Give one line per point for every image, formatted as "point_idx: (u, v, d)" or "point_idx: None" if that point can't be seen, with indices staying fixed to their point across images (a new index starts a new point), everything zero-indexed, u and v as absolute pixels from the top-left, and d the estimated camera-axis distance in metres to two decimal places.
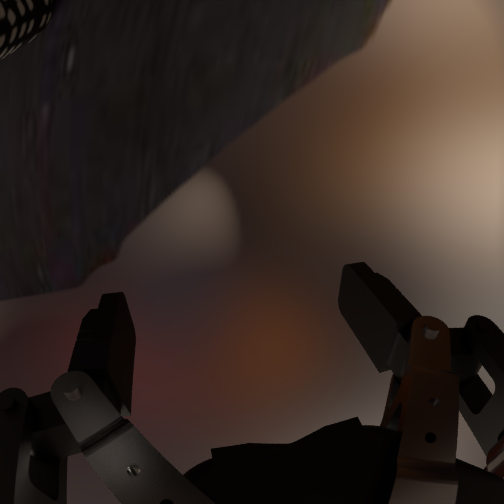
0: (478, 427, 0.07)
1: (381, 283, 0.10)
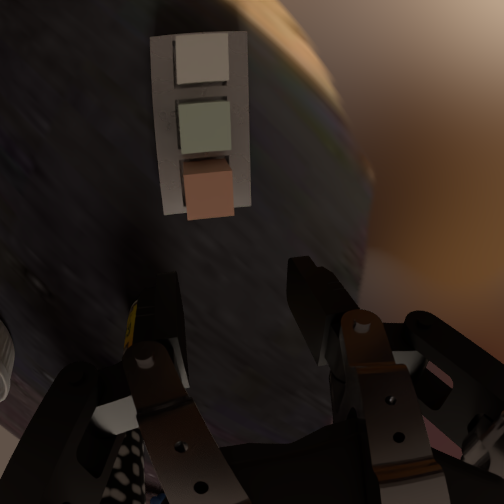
0: (442, 421, 0.07)
1: (320, 276, 0.11)
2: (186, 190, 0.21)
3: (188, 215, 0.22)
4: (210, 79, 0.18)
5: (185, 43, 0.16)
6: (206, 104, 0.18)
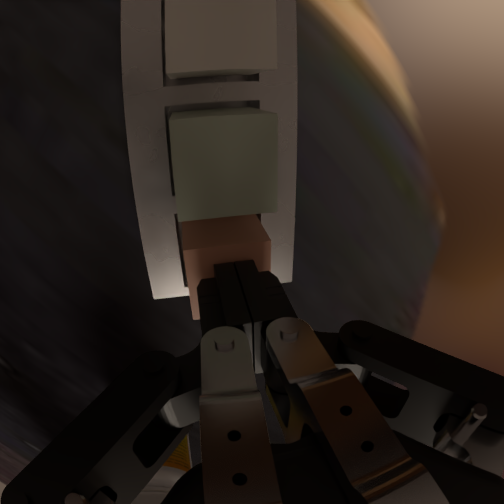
0: (403, 427, 0.07)
1: (259, 281, 0.10)
2: (189, 275, 0.12)
3: (194, 313, 0.13)
4: (238, 65, 0.08)
5: None
6: (229, 119, 0.09)
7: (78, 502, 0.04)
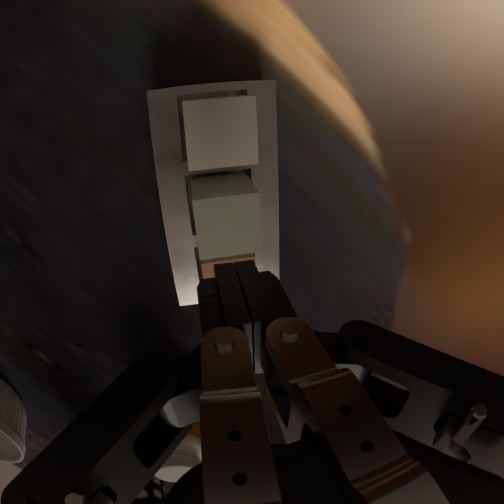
0: (403, 427, 0.07)
1: (259, 281, 0.10)
2: None
3: None
4: (233, 164, 0.14)
5: (196, 113, 0.13)
6: (229, 198, 0.15)
7: (78, 502, 0.04)
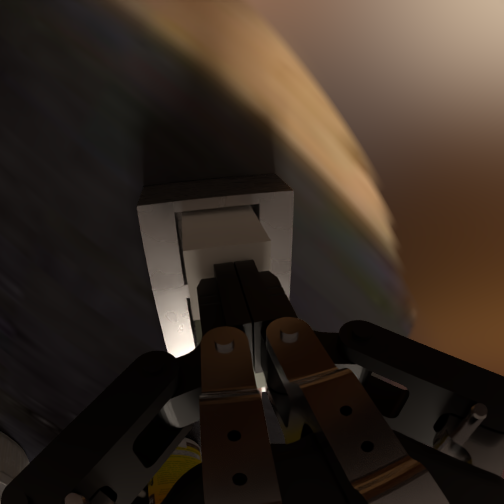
0: (403, 427, 0.07)
1: (259, 281, 0.10)
2: None
3: None
4: None
5: (200, 263, 0.12)
6: None
7: (78, 502, 0.04)
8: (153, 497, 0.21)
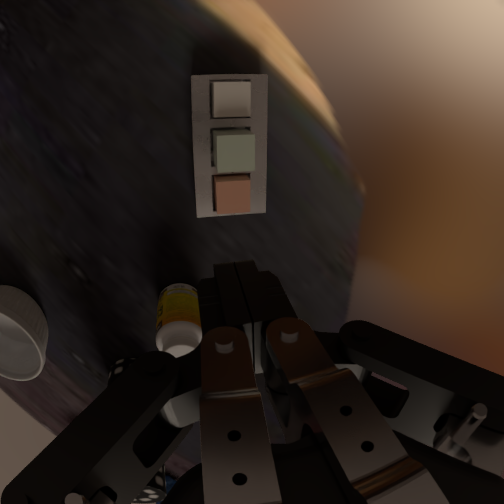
0: (403, 427, 0.07)
1: (259, 281, 0.10)
2: (217, 193, 0.30)
3: (217, 210, 0.31)
4: (237, 115, 0.27)
5: (220, 88, 0.25)
6: (237, 136, 0.26)
7: (78, 502, 0.04)
8: (161, 323, 0.33)
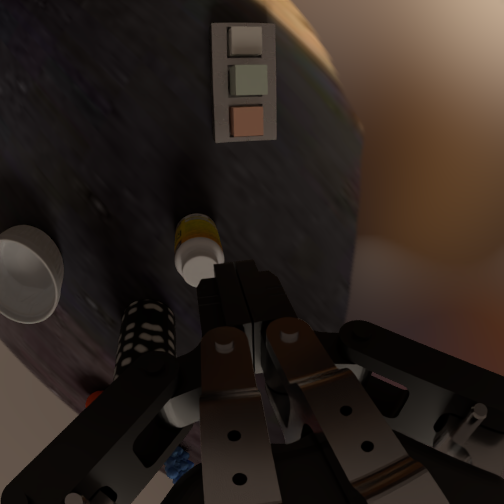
0: (403, 427, 0.07)
1: (259, 281, 0.10)
2: (234, 117, 0.32)
3: (234, 133, 0.33)
4: (251, 52, 0.29)
5: (237, 31, 0.28)
6: (252, 65, 0.28)
7: (78, 502, 0.04)
8: (180, 242, 0.36)
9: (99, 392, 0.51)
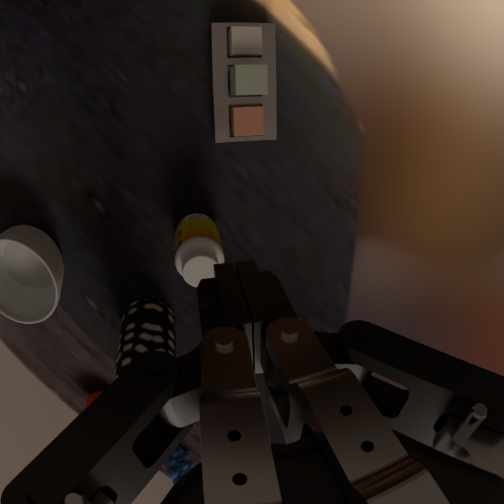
0: (403, 427, 0.07)
1: (259, 281, 0.10)
2: (234, 117, 0.32)
3: (234, 133, 0.33)
4: (251, 52, 0.29)
5: (237, 31, 0.28)
6: (252, 65, 0.28)
7: (78, 502, 0.04)
8: (180, 242, 0.36)
9: (99, 392, 0.51)
